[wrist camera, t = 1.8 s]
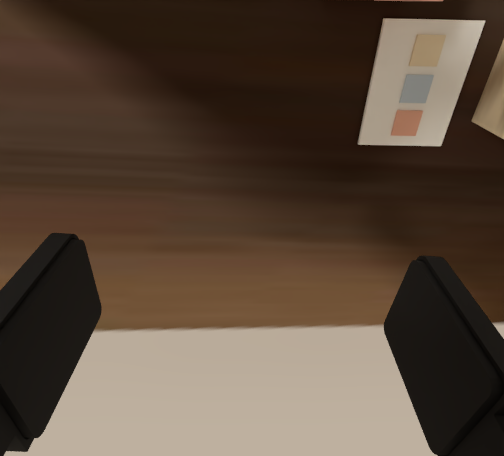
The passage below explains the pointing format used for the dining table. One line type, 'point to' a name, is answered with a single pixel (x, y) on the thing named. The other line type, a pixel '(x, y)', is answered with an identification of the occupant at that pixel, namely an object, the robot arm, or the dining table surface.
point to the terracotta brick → (409, 0)
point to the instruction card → (417, 80)
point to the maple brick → (493, 99)
